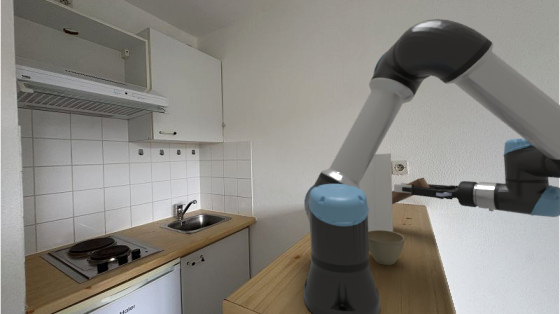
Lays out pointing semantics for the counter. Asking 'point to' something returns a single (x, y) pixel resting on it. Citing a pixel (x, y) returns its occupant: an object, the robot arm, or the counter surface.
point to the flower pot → (385, 246)
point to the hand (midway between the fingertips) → (398, 187)
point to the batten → (401, 196)
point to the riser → (379, 192)
